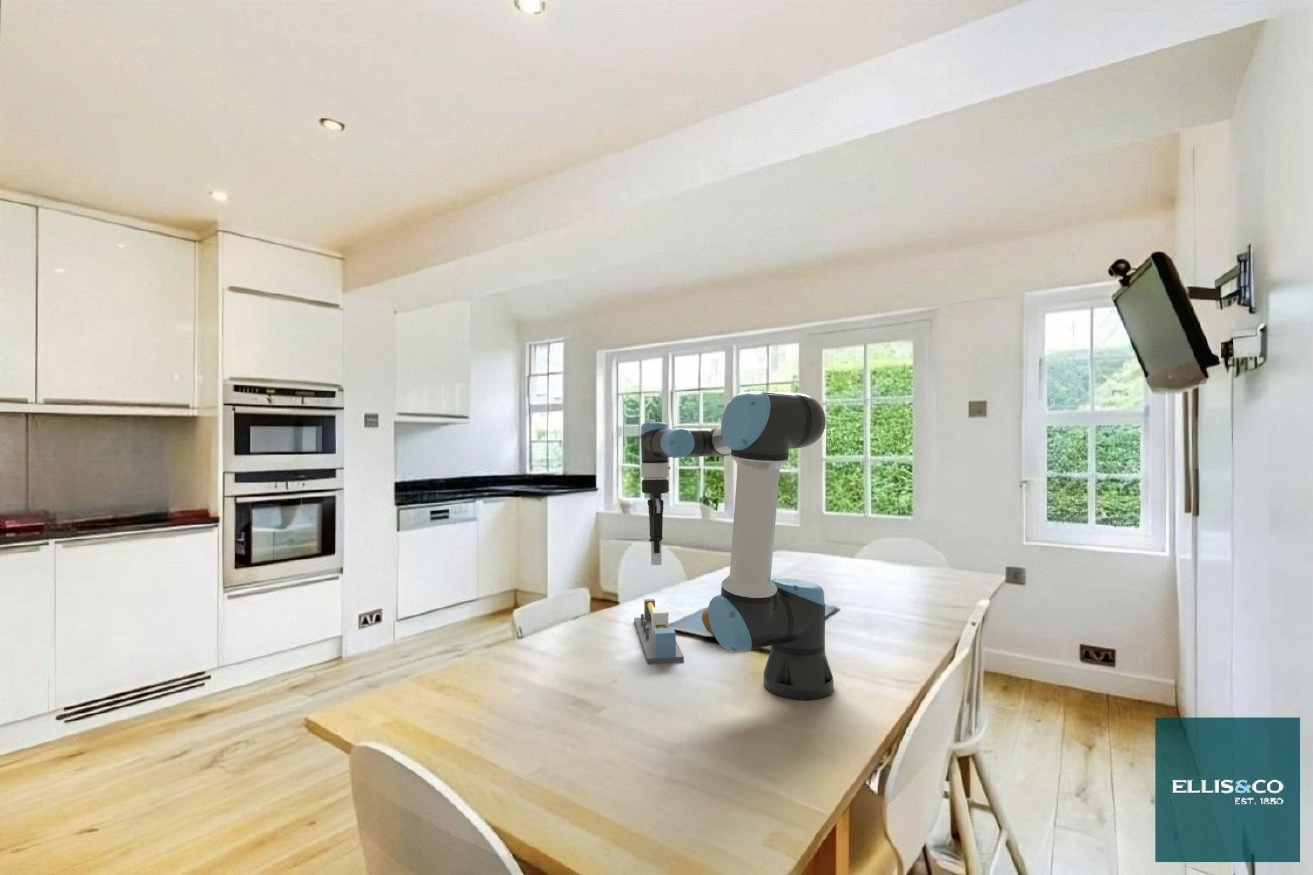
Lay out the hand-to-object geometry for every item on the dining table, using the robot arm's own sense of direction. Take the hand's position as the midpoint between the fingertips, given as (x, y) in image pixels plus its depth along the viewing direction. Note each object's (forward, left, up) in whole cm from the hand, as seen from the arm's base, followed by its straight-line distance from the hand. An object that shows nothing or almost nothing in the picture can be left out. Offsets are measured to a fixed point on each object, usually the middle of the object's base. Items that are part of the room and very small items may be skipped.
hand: (656, 564), depth 165 cm
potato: (-3, -19, -21) cm, 28 cm away
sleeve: (-7, 0, -17) cm, 18 cm away
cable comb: (-1, 0, -20) cm, 20 cm away
